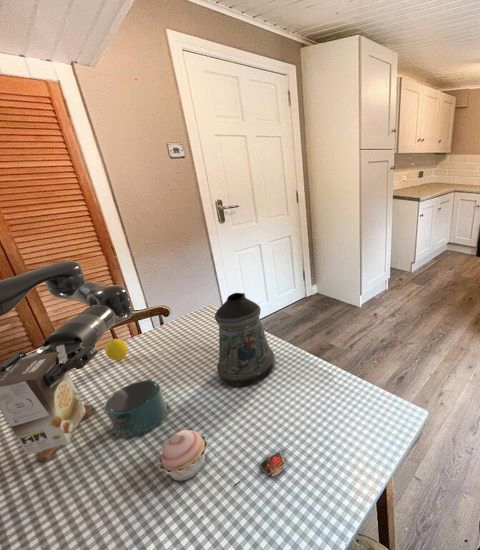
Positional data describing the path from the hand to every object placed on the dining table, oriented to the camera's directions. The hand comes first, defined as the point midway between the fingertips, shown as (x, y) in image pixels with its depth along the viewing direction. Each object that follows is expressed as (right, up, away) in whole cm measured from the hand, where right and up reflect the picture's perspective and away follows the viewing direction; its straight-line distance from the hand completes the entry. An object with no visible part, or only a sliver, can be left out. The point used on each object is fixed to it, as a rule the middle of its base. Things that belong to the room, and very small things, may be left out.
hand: (21, 385), depth 55 cm
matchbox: (+43, -21, +10) cm, 49 cm away
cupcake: (+25, -22, +10) cm, 34 cm away
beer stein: (+25, -9, +41) cm, 49 cm away
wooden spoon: (-10, -18, +19) cm, 28 cm away
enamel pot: (+6, -17, +22) cm, 28 cm away
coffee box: (0, -12, +7) cm, 14 cm away
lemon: (-18, -8, +45) cm, 49 cm away
